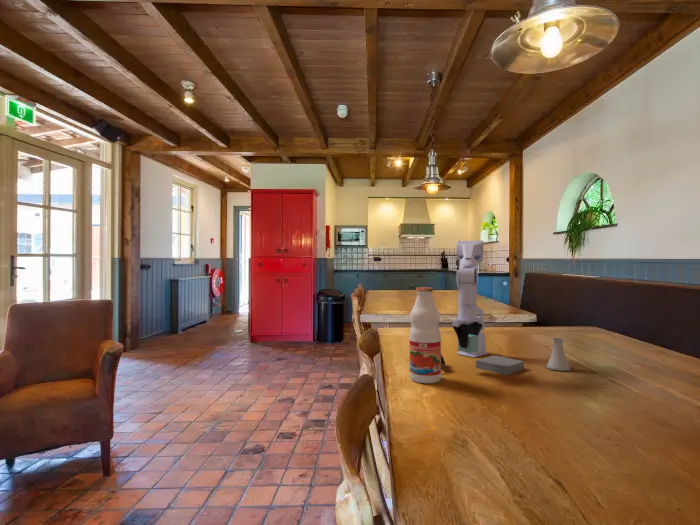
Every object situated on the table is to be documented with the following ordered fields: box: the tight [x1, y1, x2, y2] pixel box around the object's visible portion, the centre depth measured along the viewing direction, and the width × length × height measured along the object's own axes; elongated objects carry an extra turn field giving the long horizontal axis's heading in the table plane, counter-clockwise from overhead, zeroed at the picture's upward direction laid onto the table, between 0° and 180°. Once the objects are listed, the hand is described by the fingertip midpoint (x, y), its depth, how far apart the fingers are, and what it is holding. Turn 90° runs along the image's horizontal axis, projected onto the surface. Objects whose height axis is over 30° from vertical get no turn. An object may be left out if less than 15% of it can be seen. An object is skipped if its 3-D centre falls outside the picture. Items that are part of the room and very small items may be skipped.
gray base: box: [475, 354, 525, 376], centre depth 125 cm, size 11×11×3 cm
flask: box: [546, 337, 571, 372], centre depth 124 cm, size 7×7×10 cm
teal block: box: [457, 334, 478, 353], centre depth 122 cm, size 4×4×5 cm
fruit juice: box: [408, 286, 442, 384], centre depth 114 cm, size 9×9×28 cm
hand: (468, 346), depth 122 cm, fingers closed on teal block, 4 cm apart
